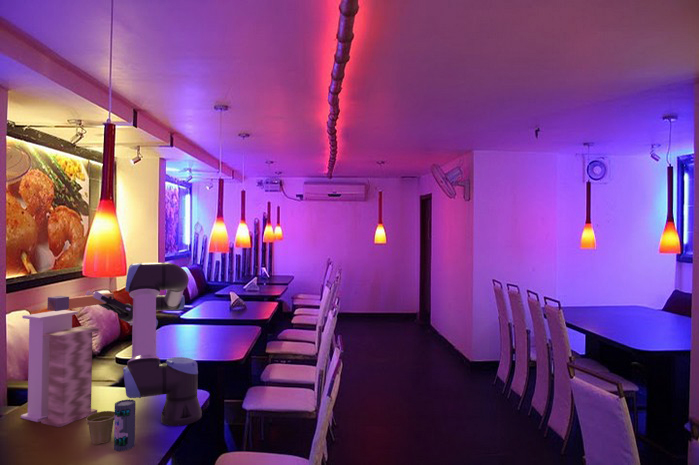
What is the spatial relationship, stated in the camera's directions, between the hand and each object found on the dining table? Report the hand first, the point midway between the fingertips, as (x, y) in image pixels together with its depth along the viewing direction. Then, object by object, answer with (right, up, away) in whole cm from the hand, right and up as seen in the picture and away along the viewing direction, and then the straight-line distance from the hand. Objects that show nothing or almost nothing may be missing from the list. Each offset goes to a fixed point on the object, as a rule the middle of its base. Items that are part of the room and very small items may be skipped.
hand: (90, 293), depth 190 cm
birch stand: (-1, -47, -12) cm, 49 cm away
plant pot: (+22, -47, -32) cm, 61 cm away
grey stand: (-12, -47, -7) cm, 49 cm away
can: (+32, -47, -36) cm, 68 cm away
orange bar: (-1, -5, -3) cm, 6 cm away
